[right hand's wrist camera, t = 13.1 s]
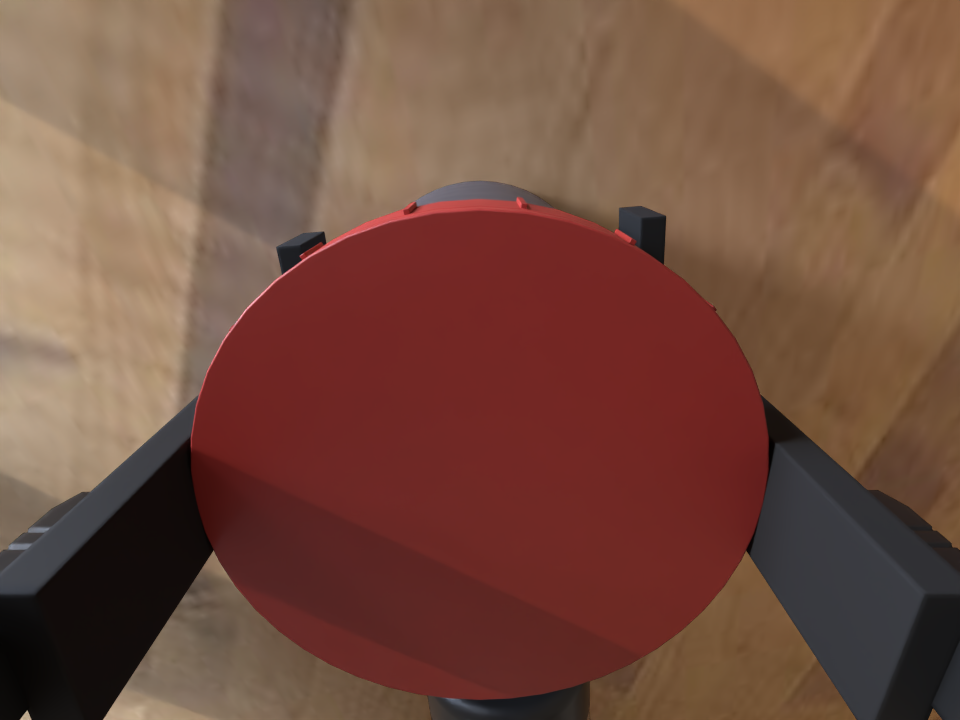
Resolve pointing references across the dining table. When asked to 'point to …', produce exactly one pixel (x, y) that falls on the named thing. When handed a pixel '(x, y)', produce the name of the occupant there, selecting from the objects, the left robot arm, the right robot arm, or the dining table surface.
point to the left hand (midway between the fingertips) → (469, 225)
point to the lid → (479, 451)
